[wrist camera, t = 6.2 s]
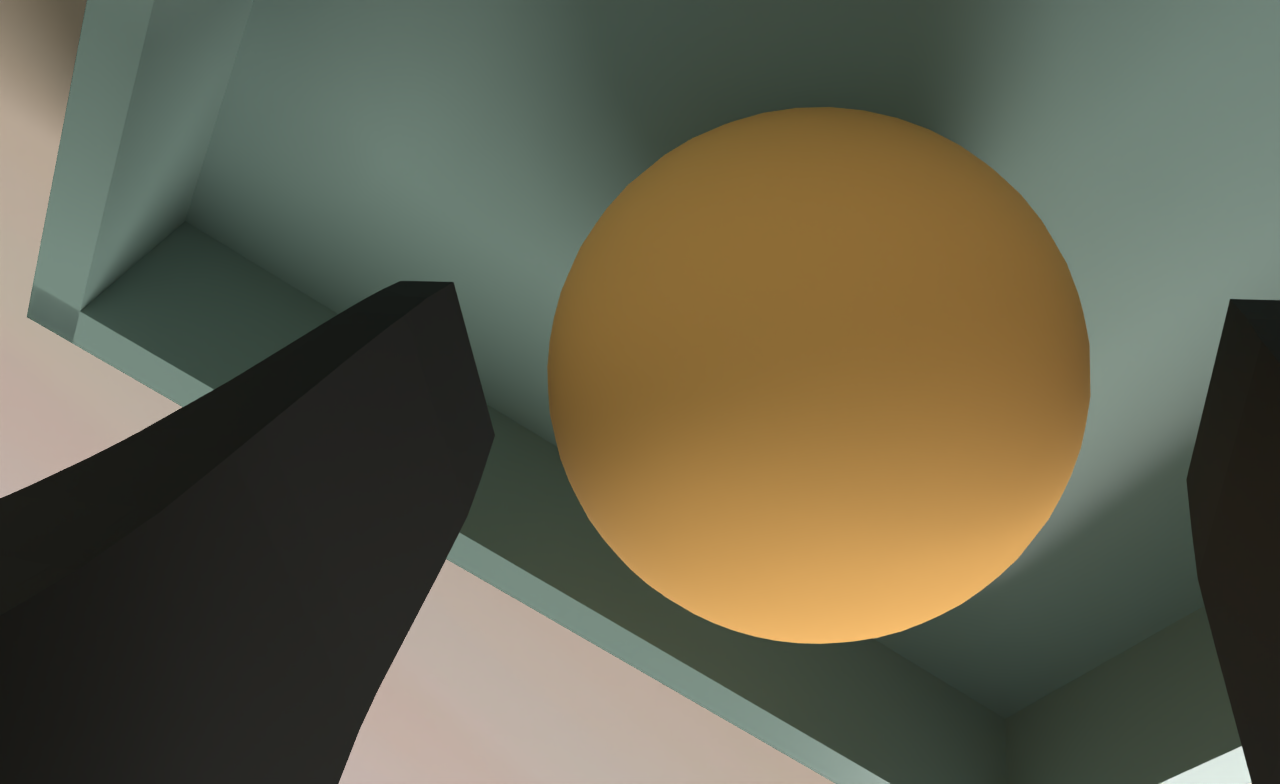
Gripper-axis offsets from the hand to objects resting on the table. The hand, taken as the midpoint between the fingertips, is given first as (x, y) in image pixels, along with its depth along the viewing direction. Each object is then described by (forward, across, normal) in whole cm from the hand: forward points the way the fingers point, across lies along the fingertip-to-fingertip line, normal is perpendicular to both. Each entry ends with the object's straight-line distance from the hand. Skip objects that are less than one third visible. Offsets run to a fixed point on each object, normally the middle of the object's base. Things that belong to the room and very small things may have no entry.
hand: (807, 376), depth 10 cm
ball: (+2, 0, 0) cm, 2 cm away
